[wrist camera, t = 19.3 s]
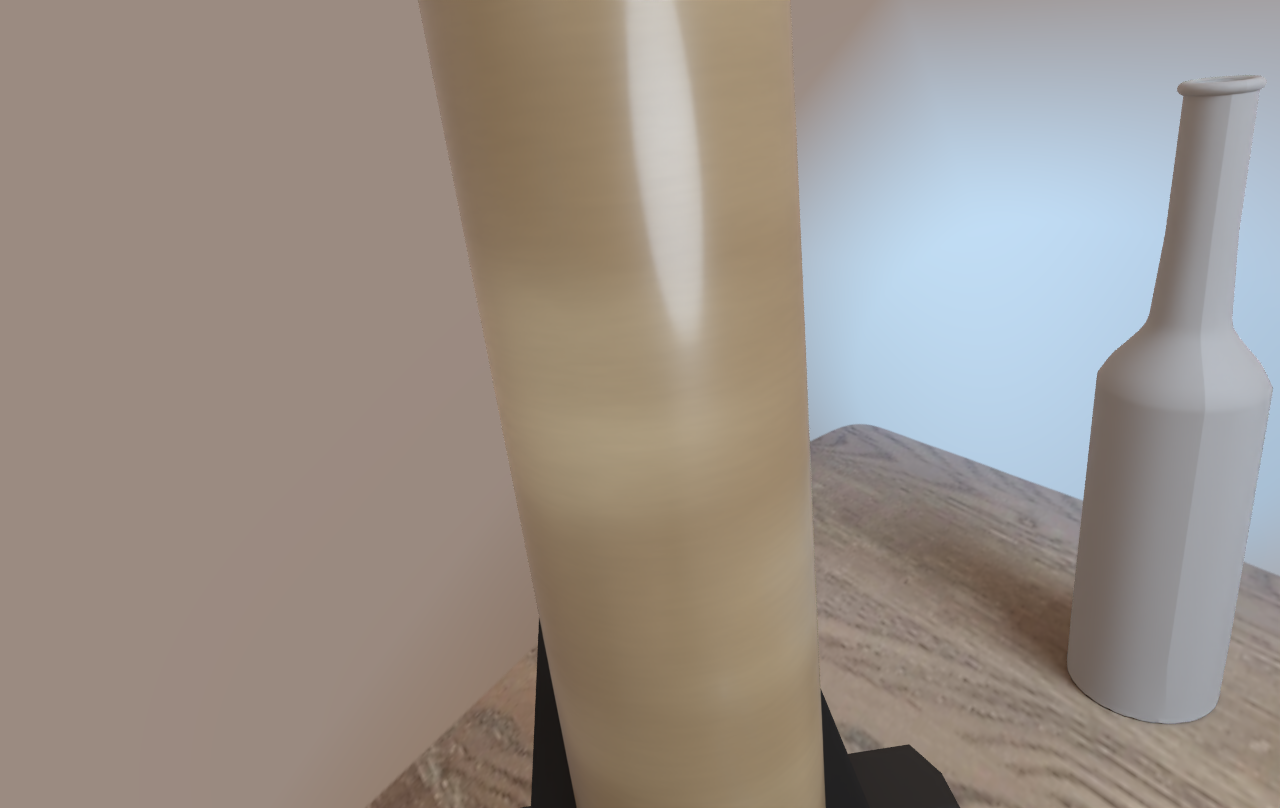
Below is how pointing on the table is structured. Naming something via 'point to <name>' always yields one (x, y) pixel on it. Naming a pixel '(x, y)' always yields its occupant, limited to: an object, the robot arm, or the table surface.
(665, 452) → the wooden rounded dowel
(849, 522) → the table surface
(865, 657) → the table surface
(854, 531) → the table surface
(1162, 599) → the bottle
